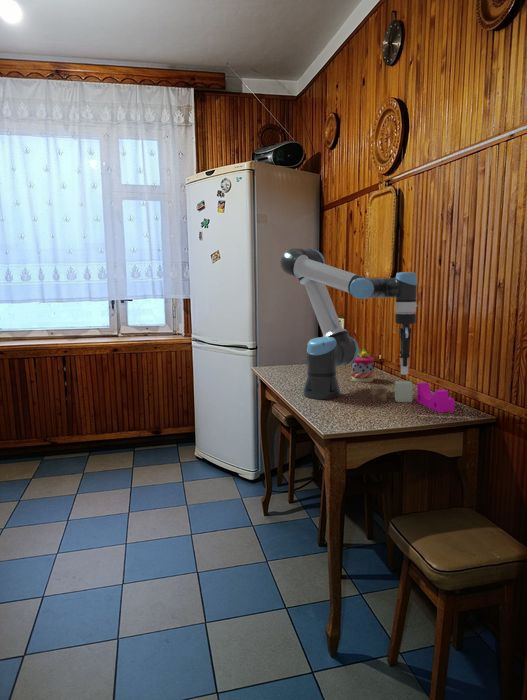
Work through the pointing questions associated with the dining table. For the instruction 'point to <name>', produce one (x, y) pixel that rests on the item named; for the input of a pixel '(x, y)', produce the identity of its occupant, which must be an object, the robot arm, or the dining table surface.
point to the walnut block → (378, 393)
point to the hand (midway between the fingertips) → (404, 374)
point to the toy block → (434, 398)
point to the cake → (362, 367)
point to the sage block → (403, 391)
